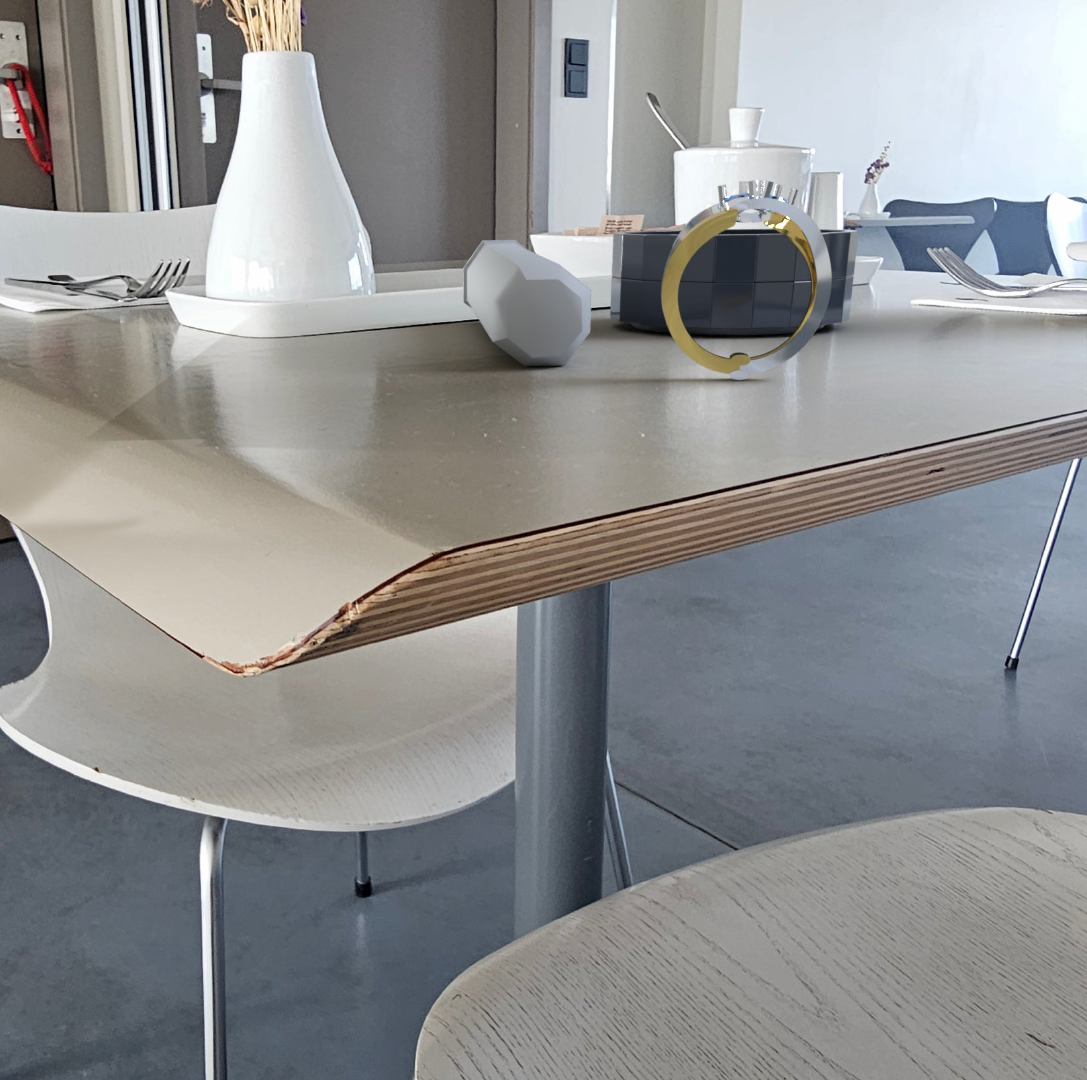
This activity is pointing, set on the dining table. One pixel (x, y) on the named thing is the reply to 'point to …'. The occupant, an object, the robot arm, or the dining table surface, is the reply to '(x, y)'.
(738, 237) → the bowl
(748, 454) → the dining table surface
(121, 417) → the dining table surface
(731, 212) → the ring
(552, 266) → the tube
